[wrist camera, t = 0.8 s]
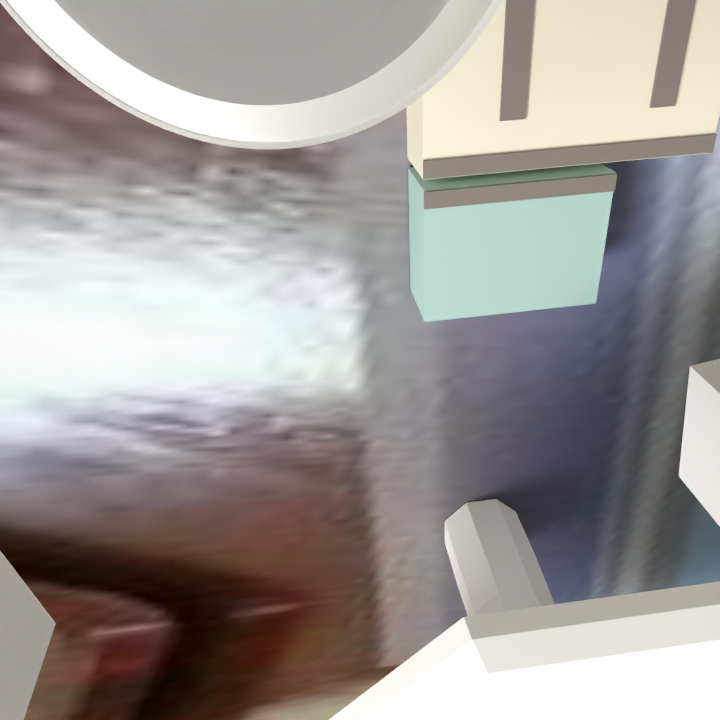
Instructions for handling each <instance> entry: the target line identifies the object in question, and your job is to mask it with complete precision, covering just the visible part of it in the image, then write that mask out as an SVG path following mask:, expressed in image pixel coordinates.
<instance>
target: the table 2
mask: <svg viewBox="0 0 720 720" xmlns="http://www.w3.org/2000/svg"><path fill="white" fill-rule="evenodd" d="M445 545H446V548H447V552H448V555H449V558H450V562H451V565H452V569H453V572H454V575H455V579H456V582H457V585H458V588H459V591H460V594H461V597H462V600H463V603H464V606H465V609H466V612H467V615H468V617H463V618H462V619H461V620H459V621H458V622H457V623H455V624H454V625H453V626H451V627H450V628H449V629H447V630H446V631H445V632H444V633H442V634H441V635H440V636H438V637H437V638H436V639H434V640H433V641H432V642H430V643H429V644H428V645H426V646H425V647H424V648H423V649H421V650H420V651H419V652H417V653H416V654H415V655H413V656H412V657H411V658H409V659H408V660H407V661H405V662H404V663H403V664H402V665H400V666H399V667H398V668H396V669H395V670H394V671H392V672H391V673H390V674H388V675H387V676H386V677H384V678H383V679H382V680H381V681H379V682H378V683H377V684H375V685H374V686H373V687H371V688H370V689H369V690H367V691H366V692H365V693H363V694H362V695H361V696H360V697H358V698H357V699H356V700H354V701H353V702H352V703H350V704H349V705H348V706H346V707H345V708H344V709H342V710H341V711H340V712H339V713H337V714H336V715H335V716H333V717H332V718H331V719H329V720H720V581H719V582H712V583H704V584H697V585H690V586H683V587H676V588H669V589H661V590H654V591H647V592H640V593H633V594H626V595H618V596H611V597H604V598H597V599H590V600H583V601H575V602H568V603H561V604H555V603H554V601H553V599H552V596H551V594H550V591H549V589H548V586H547V584H546V581H545V579H544V576H543V574H542V571H541V569H540V566H539V564H538V561H537V559H536V556H535V554H534V551H533V549H532V547H531V545H530V543H529V540H528V538H527V536H526V534H525V531H524V529H523V527H522V525H521V522H520V520H519V518H518V516H517V513H516V511H514V510H513V509H511V508H509V507H508V506H506V505H505V504H503V503H502V502H500V501H499V500H497V499H491V500H483V501H475V502H468V503H465V504H464V505H463V506H462V507H461V508H459V509H458V510H457V511H456V512H455V513H453V514H452V515H451V516H450V517H449V518H448V519H446V520H445Z"/></svg>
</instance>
